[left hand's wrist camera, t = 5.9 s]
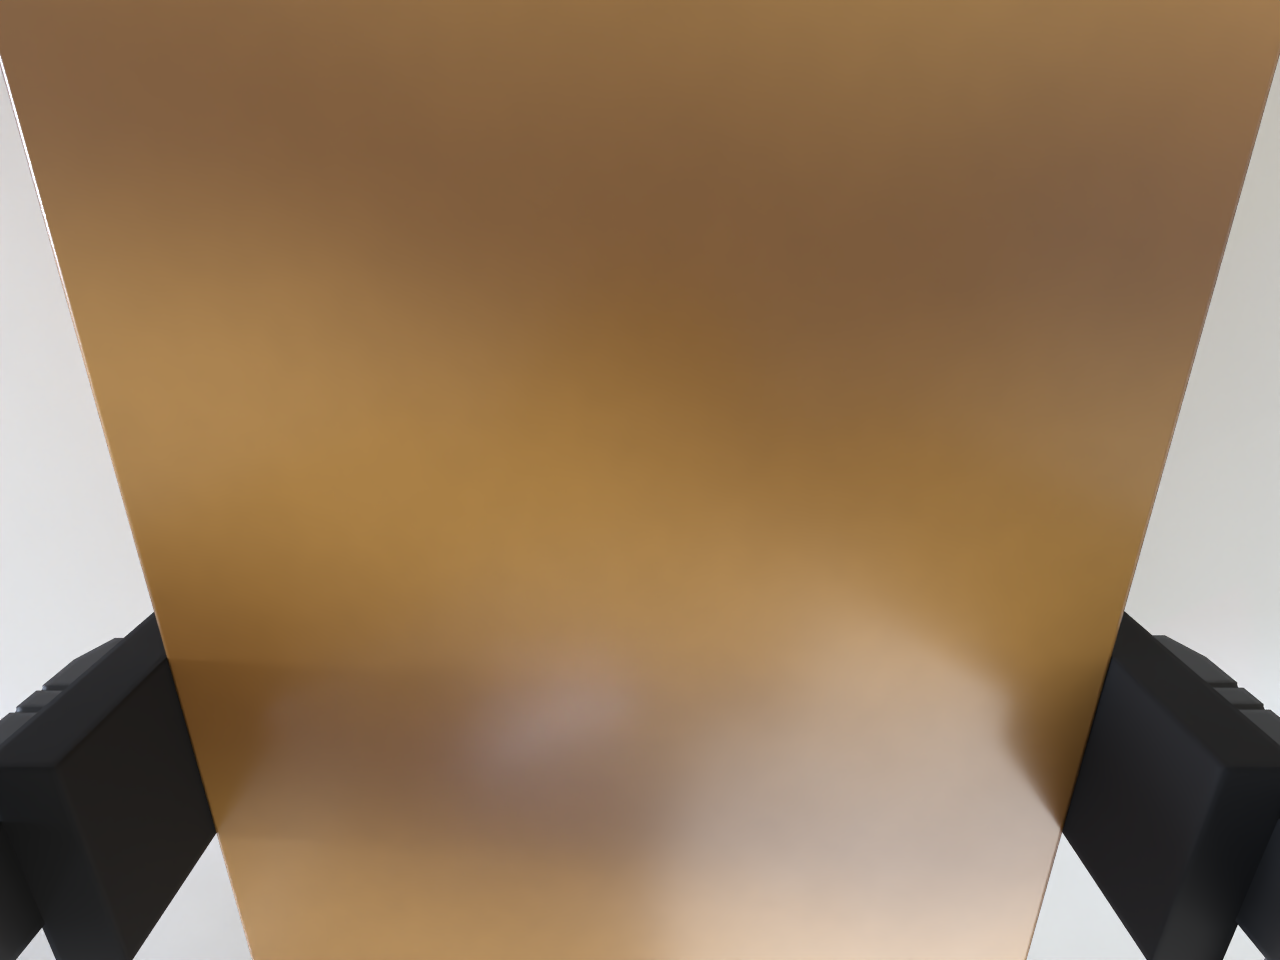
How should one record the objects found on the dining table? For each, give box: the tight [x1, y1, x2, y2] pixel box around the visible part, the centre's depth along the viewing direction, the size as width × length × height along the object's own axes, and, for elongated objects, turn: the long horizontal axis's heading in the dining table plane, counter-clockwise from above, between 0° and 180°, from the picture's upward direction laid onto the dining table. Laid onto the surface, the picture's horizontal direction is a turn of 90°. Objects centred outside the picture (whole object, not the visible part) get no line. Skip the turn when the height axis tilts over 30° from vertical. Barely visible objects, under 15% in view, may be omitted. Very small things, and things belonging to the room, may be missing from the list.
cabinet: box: [0, 0, 1280, 960], centre depth 11 cm, size 22×11×10 cm, turn 0°
